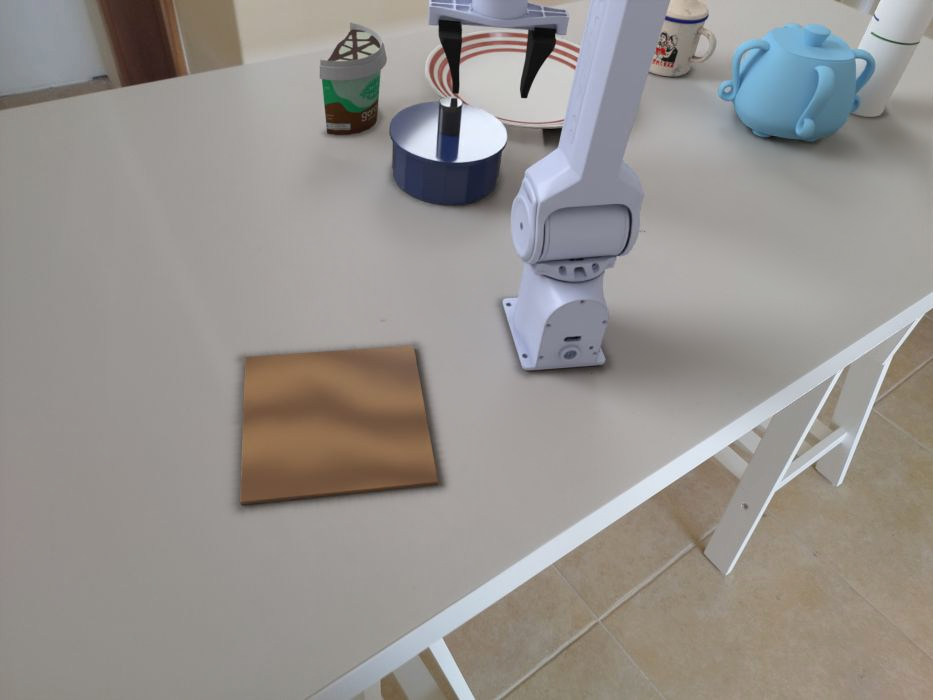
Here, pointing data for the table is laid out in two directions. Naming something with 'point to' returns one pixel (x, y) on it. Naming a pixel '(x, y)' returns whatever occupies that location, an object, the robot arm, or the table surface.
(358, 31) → the food container
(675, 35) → the teacup with lid
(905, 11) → the cylindrical container
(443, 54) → the dinner plate
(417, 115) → the tin lid
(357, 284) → the table surface
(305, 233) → the table surface
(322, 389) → the board
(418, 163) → the tin
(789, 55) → the decorative pot
